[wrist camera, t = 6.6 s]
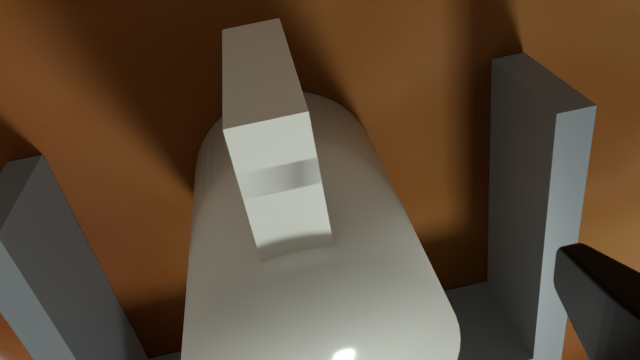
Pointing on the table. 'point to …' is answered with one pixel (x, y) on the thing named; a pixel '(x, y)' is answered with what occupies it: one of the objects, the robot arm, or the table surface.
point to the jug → (301, 229)
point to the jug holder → (467, 302)
